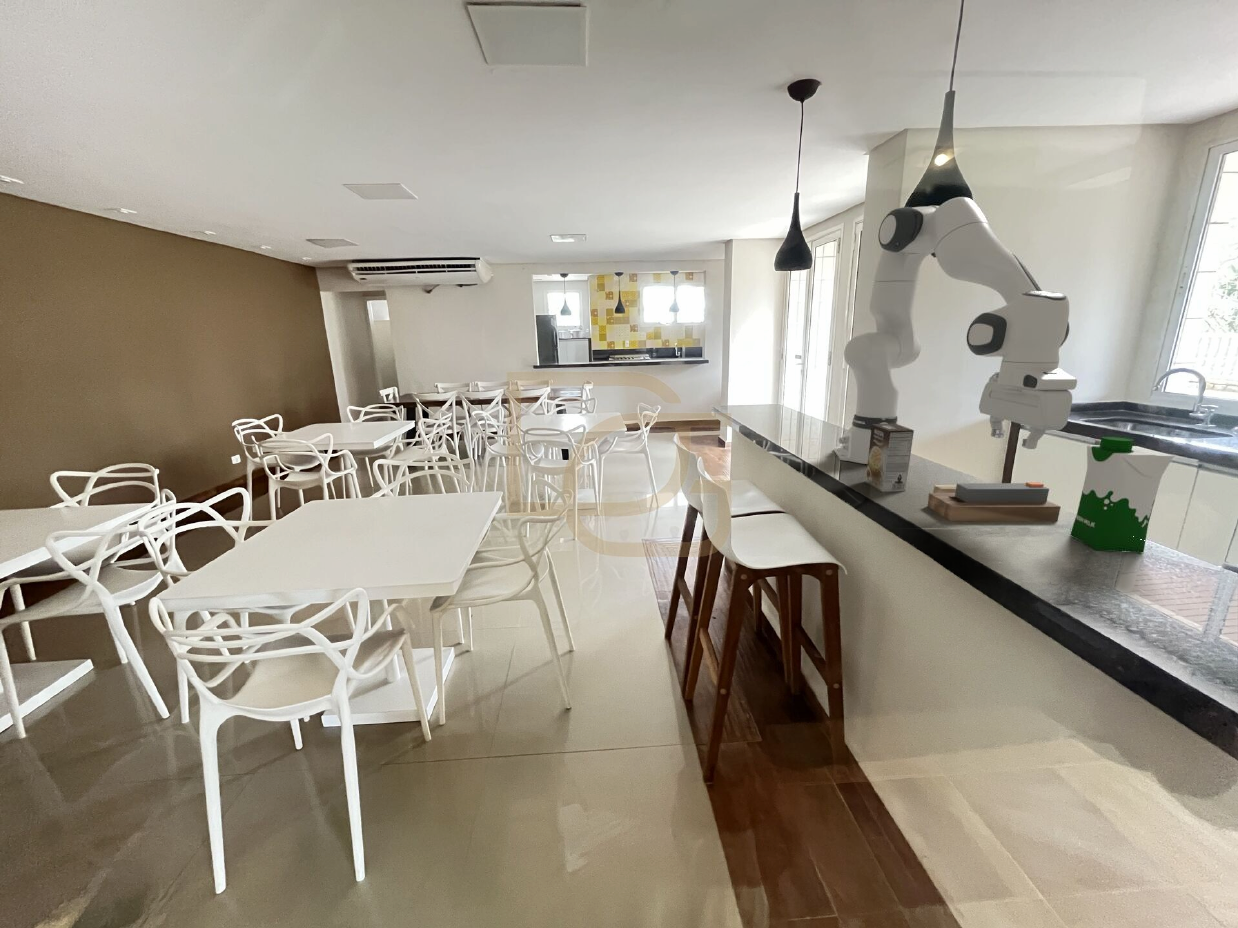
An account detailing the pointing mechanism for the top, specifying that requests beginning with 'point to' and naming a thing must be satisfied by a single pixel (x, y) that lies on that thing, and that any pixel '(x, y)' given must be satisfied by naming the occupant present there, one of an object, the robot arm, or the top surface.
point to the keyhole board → (991, 509)
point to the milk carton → (1118, 494)
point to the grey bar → (1002, 492)
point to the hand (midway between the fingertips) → (1011, 442)
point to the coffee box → (889, 457)
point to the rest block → (944, 488)
